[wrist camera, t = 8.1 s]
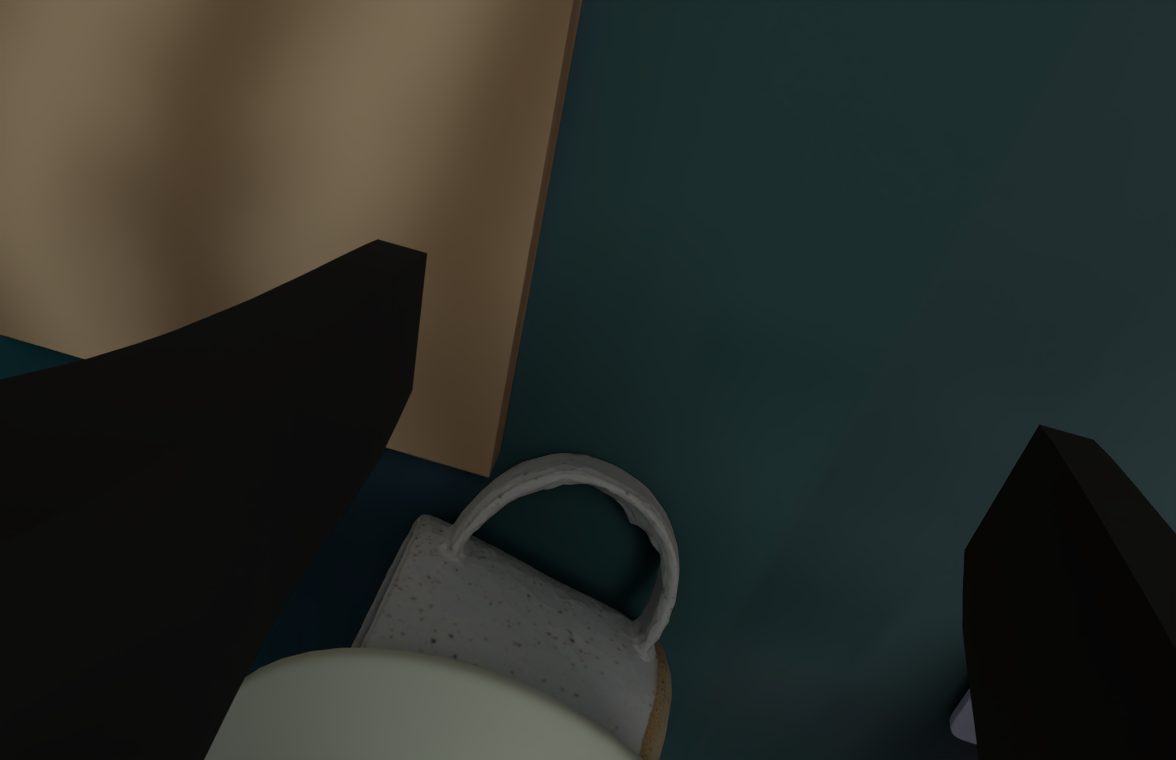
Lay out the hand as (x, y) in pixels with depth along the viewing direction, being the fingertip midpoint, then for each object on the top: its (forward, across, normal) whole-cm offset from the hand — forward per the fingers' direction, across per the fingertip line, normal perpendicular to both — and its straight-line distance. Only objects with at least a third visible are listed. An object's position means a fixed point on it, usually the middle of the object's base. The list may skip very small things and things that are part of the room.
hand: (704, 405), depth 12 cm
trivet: (+10, +11, +4) cm, 16 cm away
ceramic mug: (+11, +2, +15) cm, 19 cm away
